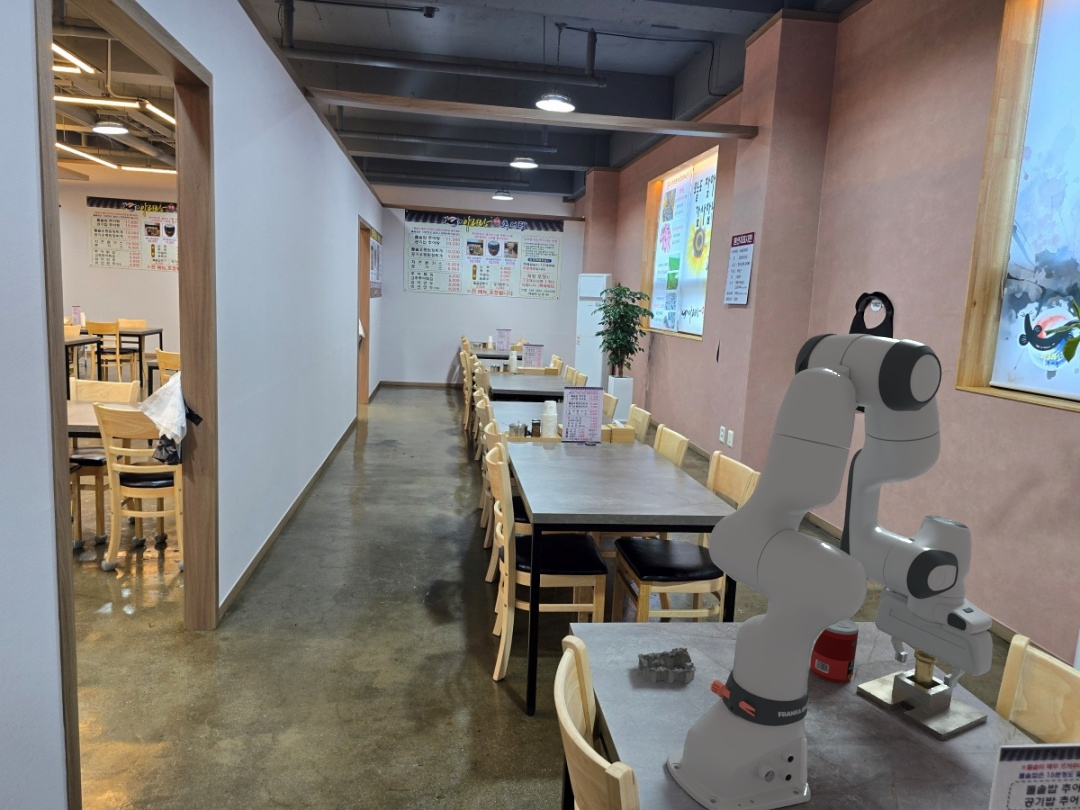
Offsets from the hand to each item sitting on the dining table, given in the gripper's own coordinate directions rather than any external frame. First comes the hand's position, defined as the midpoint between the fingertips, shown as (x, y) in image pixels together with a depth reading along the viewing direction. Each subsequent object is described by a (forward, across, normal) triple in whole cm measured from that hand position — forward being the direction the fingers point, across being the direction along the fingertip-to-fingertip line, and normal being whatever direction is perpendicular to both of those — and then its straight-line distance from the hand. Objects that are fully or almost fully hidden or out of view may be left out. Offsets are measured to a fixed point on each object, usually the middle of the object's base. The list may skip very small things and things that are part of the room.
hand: (924, 673), depth 128 cm
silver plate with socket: (+7, 0, 0) cm, 7 cm away
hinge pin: (+5, 0, 0) cm, 5 cm away
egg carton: (+7, -28, -37) cm, 48 cm away
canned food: (+7, -15, -6) cm, 18 cm away
